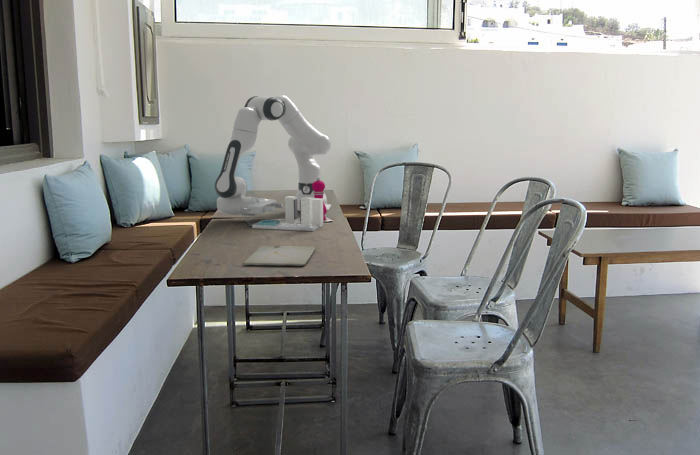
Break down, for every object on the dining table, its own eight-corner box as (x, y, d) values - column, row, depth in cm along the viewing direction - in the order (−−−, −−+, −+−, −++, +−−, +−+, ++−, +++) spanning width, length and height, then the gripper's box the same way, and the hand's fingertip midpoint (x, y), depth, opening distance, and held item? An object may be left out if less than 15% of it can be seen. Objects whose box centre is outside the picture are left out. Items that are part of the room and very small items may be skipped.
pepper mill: (327, 218, 293) (327, 176, 289) (325, 221, 286) (325, 178, 282) (312, 218, 294) (311, 176, 290) (310, 221, 287) (309, 178, 283)
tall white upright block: (288, 222, 285) (288, 196, 283) (298, 222, 284) (297, 196, 282) (285, 223, 282) (284, 197, 279) (295, 224, 280) (294, 197, 278)
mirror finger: (313, 224, 278) (313, 198, 276) (323, 225, 277) (323, 198, 275) (310, 226, 274) (310, 199, 272) (320, 226, 273) (320, 199, 271)
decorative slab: (259, 250, 231) (258, 244, 230) (316, 250, 230) (316, 245, 229) (243, 268, 204) (242, 262, 204) (307, 268, 203) (307, 262, 203)
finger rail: (259, 224, 279) (258, 194, 276) (319, 227, 271) (318, 196, 269) (252, 228, 271) (251, 197, 269) (313, 231, 264) (312, 199, 261)
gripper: (240, 202, 277) (269, 203, 273) (259, 196, 296) (286, 197, 292) (241, 216, 278) (269, 218, 274) (259, 209, 297) (286, 210, 293)
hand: (278, 207), depth 283 cm, fingers open, 8 cm apart
